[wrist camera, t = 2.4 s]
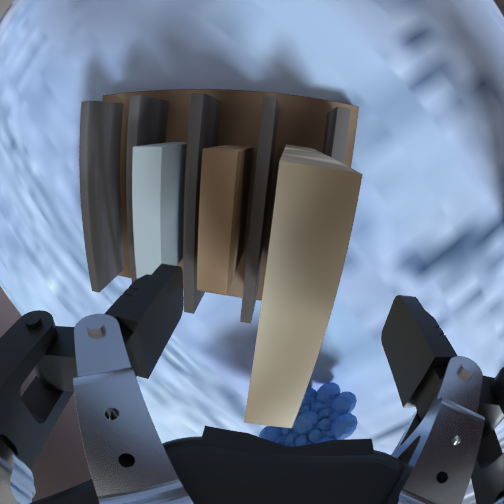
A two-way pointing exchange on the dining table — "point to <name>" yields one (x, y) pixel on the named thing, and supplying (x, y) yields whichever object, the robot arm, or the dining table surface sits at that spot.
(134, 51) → the dining table surface
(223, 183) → the offcut oak
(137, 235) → the offcut grey
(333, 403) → the grapes
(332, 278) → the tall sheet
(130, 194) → the rack
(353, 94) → the dining table surface
